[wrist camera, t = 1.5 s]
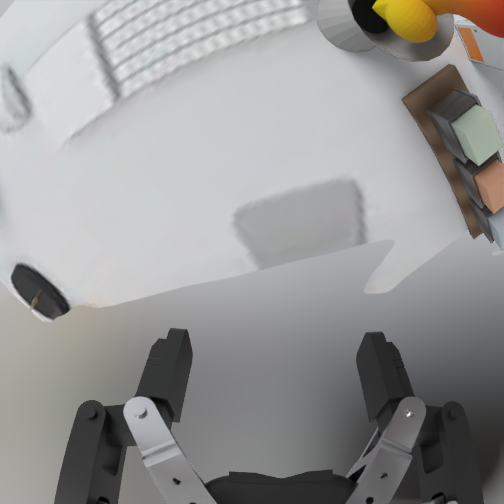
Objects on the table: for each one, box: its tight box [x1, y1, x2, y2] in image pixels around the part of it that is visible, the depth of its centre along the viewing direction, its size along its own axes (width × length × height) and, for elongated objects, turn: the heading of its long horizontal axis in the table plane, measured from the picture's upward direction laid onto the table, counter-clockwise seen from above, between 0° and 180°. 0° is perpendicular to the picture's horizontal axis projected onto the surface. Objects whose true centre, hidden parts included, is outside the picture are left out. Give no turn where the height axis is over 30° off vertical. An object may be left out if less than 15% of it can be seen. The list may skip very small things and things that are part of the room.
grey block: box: [487, 206, 504, 250], centre depth 31 cm, size 5×5×6 cm
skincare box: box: [454, 20, 504, 71], centre depth 15 cm, size 6×4×12 cm
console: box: [402, 64, 502, 243], centre depth 30 cm, size 30×10×6 cm, turn 47°
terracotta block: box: [473, 159, 504, 214], centre depth 28 cm, size 5×5×6 cm
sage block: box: [449, 104, 503, 166], centre depth 24 cm, size 5×5×6 cm
